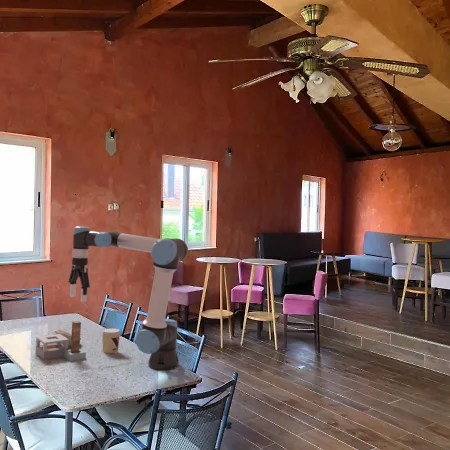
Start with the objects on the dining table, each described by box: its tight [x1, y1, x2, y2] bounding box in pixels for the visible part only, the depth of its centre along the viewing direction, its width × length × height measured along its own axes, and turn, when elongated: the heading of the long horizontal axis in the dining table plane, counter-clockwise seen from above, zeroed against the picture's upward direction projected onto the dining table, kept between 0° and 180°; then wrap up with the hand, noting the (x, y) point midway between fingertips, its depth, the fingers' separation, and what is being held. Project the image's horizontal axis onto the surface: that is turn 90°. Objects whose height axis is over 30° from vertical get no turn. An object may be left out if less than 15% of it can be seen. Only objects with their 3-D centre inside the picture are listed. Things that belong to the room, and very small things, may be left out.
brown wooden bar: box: [70, 320, 82, 353], centre depth 218 cm, size 3×3×18 cm
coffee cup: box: [102, 327, 121, 355], centre depth 232 cm, size 9×9×12 cm
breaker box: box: [35, 333, 69, 361], centre depth 220 cm, size 12×12×10 cm
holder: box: [63, 348, 87, 362], centre depth 218 cm, size 8×8×4 cm
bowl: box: [53, 329, 81, 347], centre depth 238 cm, size 15×14×10 cm
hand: (78, 299), depth 218 cm, fingers open, 13 cm apart
